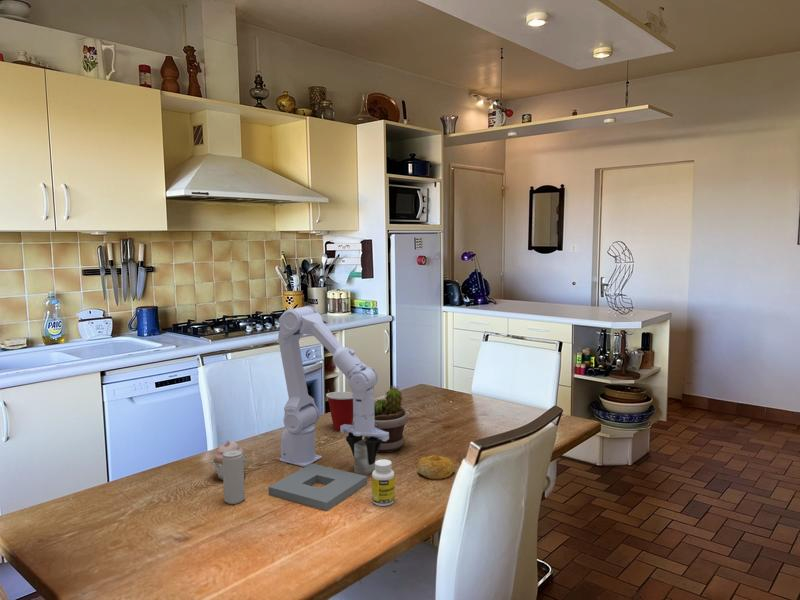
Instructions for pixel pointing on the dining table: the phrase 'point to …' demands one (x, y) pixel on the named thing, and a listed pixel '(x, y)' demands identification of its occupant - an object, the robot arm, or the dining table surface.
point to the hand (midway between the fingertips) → (364, 461)
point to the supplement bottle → (383, 483)
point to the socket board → (321, 498)
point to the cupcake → (218, 455)
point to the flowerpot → (390, 419)
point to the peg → (362, 458)
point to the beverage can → (233, 476)
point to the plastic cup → (341, 408)
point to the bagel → (435, 467)
